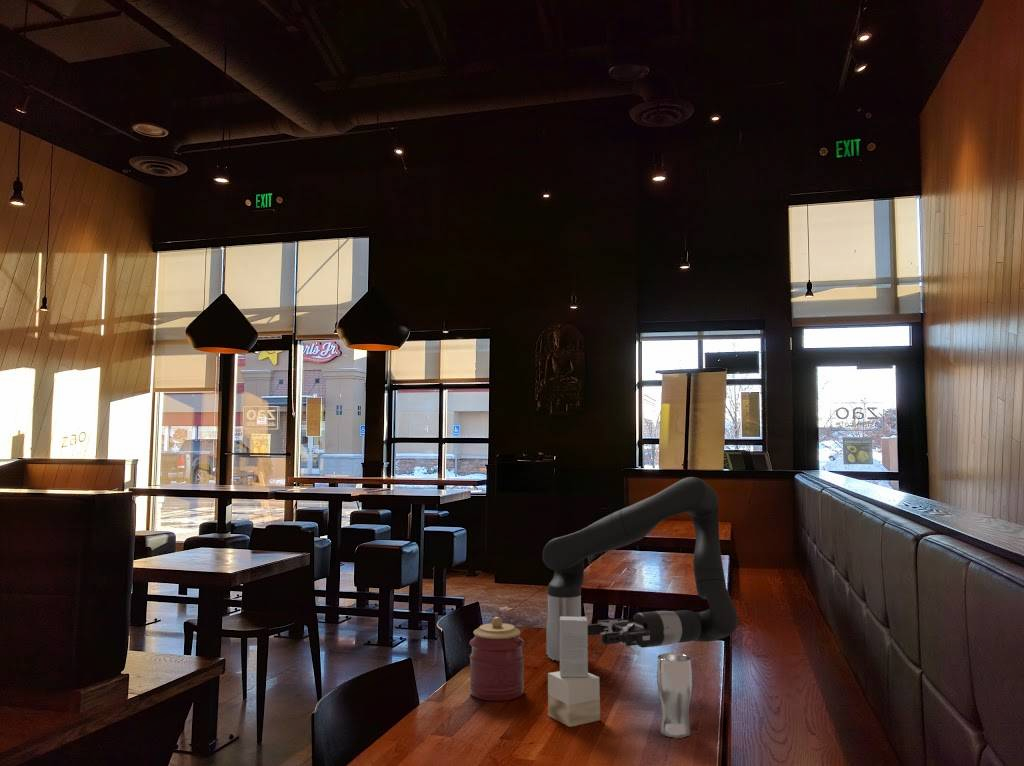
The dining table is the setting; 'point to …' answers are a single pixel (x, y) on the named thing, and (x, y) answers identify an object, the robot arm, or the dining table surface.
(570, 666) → the skincare box
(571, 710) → the tower bottom block
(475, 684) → the canister
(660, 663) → the beer glass
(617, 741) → the dining table surface
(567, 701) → the tower top block
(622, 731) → the dining table surface
